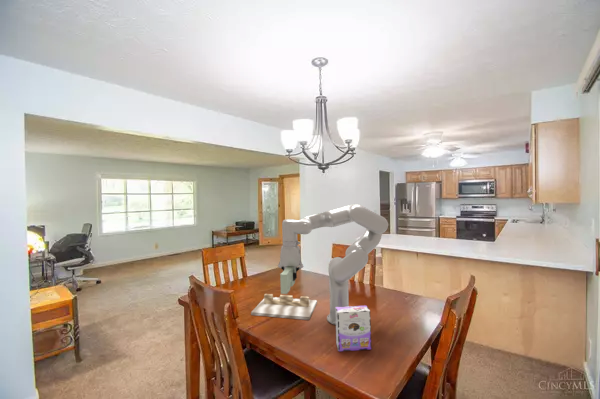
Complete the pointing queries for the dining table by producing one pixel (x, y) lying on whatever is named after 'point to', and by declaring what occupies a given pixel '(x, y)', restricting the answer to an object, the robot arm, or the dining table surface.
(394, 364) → the dining table surface
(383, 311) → the dining table surface
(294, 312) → the white rectangular board
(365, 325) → the candy box
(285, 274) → the cross piece
